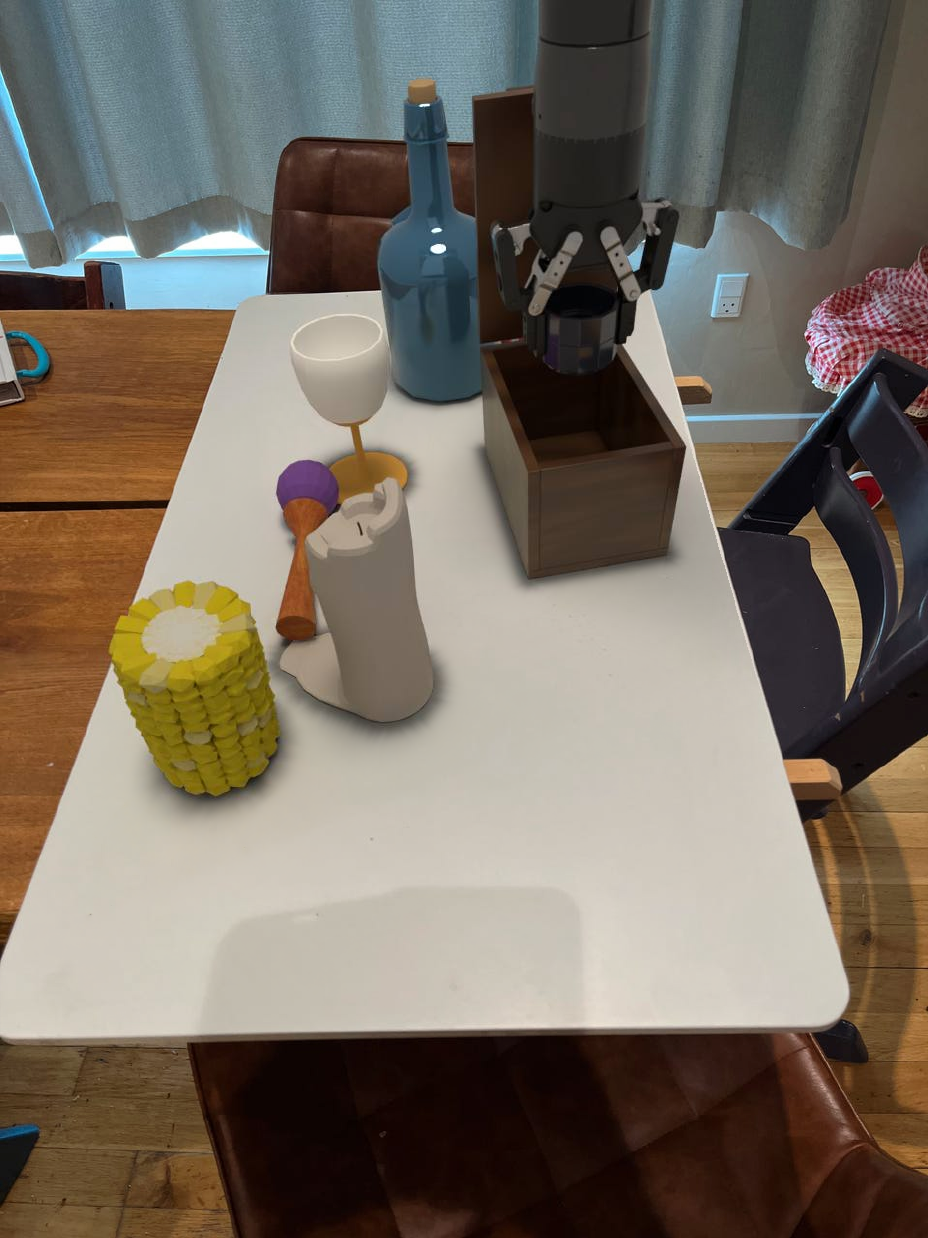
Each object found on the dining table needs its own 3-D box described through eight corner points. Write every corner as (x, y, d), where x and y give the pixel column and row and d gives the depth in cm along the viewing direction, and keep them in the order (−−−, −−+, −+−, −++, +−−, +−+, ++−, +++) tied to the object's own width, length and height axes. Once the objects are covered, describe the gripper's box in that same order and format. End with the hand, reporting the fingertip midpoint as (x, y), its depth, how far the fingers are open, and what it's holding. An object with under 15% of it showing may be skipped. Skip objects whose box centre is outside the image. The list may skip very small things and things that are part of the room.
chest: (667, 555, 71) (686, 446, 62) (528, 579, 70) (528, 472, 62) (602, 430, 85) (611, 326, 76) (484, 449, 84) (479, 346, 75)
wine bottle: (521, 387, 91) (517, 85, 69) (414, 418, 88) (375, 114, 66) (474, 335, 100) (458, 52, 78) (376, 361, 97) (330, 76, 75)
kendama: (246, 614, 64) (268, 455, 76) (277, 655, 68) (293, 499, 81) (315, 598, 63) (326, 440, 75) (342, 641, 67) (348, 485, 80)
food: (169, 728, 64) (293, 708, 65) (148, 841, 54) (294, 814, 56) (109, 568, 55) (254, 548, 56) (73, 669, 46) (248, 642, 47)
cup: (425, 470, 82) (408, 326, 70) (369, 519, 77) (340, 373, 65) (360, 444, 86) (333, 302, 74) (303, 489, 81) (264, 346, 69)
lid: (646, 77, 58) (624, 48, 61) (473, 99, 57) (460, 69, 60) (612, 324, 75) (597, 292, 78) (480, 344, 74) (469, 311, 77)
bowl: (602, 334, 68) (606, 277, 64) (624, 371, 64) (630, 313, 60) (532, 345, 67) (532, 288, 64) (550, 383, 63) (551, 324, 60)
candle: (307, 619, 69) (245, 427, 54) (448, 666, 64) (424, 470, 49) (260, 679, 65) (179, 489, 50) (408, 734, 60) (367, 542, 45)
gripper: (495, 146, 49) (502, 383, 62) (714, 117, 50) (677, 355, 63) (473, 111, 54) (484, 336, 67) (673, 85, 55) (646, 312, 68)
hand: (578, 345), depth 65 cm, fingers closed on bowl, 6 cm apart
